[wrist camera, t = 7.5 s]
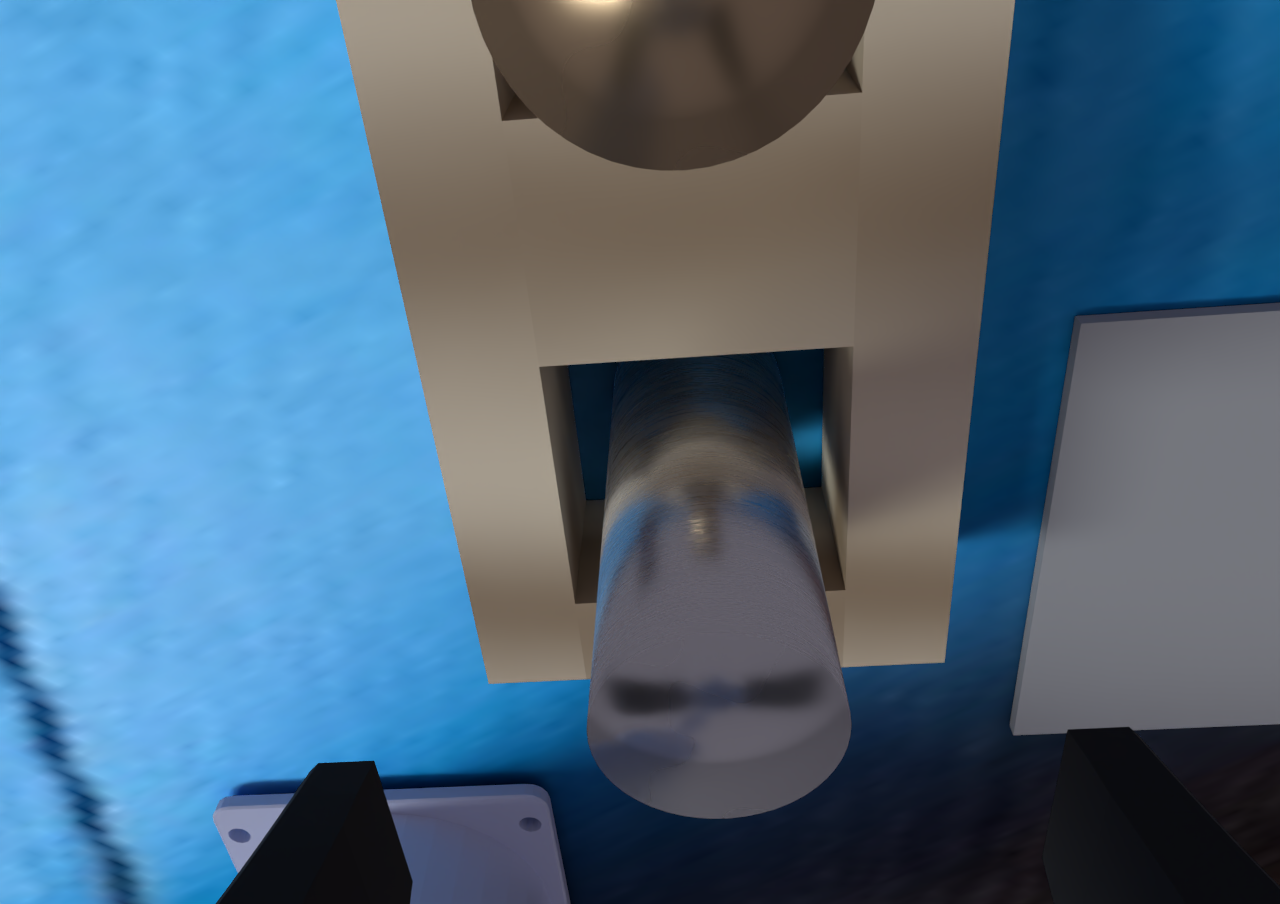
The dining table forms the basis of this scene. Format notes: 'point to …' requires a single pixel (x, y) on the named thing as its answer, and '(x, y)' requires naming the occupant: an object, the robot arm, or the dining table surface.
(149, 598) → the dining table surface
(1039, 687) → the mat
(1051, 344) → the dining table surface
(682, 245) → the hole block
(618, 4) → the bronze peg
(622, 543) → the grey peg
